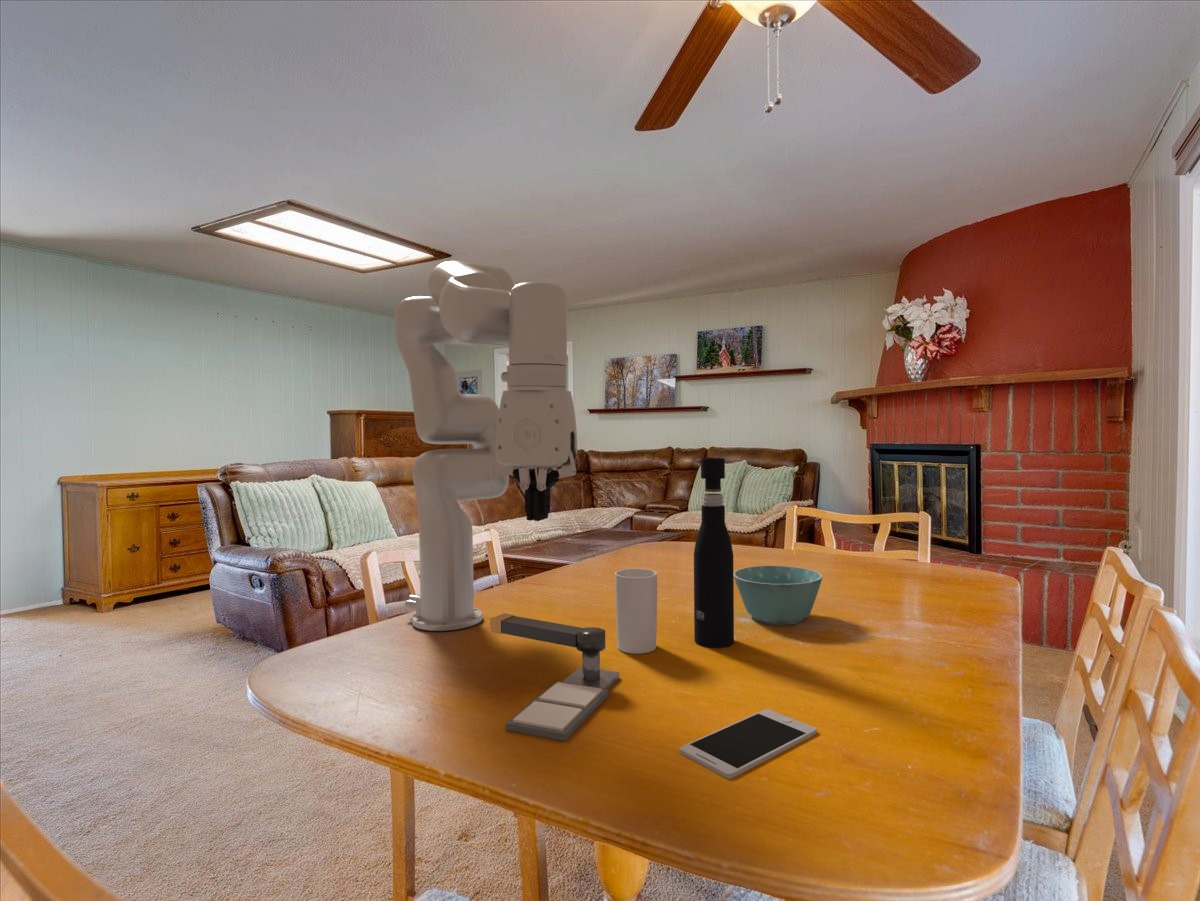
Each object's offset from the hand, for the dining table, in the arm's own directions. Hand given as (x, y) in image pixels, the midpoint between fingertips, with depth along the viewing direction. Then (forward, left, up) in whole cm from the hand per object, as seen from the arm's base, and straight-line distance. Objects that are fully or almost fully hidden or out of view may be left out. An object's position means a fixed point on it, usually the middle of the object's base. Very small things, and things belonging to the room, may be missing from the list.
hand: (537, 518), depth 85 cm
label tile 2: (+5, -2, -23) cm, 24 cm away
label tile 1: (+5, -8, -23) cm, 25 cm away
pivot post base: (+5, +5, -23) cm, 24 cm away
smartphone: (+28, -4, -24) cm, 37 cm away
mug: (+5, +22, -23) cm, 32 cm away
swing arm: (-2, +6, -18) cm, 19 cm away
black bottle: (+17, +28, -23) cm, 40 cm away
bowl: (+25, +45, -23) cm, 57 cm away
